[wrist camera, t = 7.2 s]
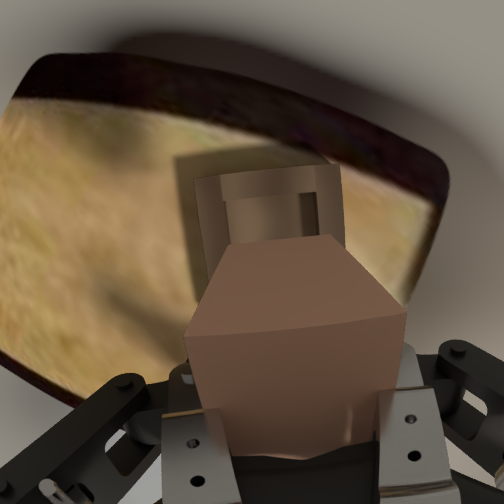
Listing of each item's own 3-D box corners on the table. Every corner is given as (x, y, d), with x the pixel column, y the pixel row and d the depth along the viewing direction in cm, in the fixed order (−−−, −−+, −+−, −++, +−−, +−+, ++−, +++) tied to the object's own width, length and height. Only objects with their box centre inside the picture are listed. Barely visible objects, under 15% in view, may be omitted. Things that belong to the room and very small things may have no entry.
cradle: (221, 320, 28) (218, 334, 25) (200, 178, 24) (193, 178, 22) (339, 309, 27) (346, 321, 24) (332, 164, 24) (339, 163, 21)
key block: (228, 244, 12) (182, 336, 5) (330, 234, 12) (406, 312, 5) (249, 385, 14) (239, 510, 7) (332, 377, 13) (364, 497, 7)
